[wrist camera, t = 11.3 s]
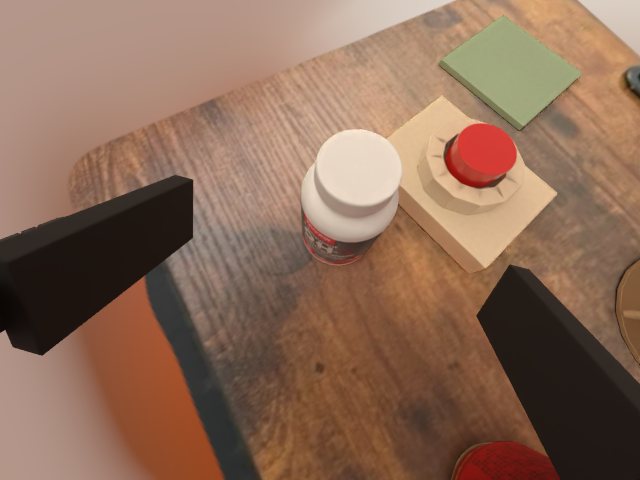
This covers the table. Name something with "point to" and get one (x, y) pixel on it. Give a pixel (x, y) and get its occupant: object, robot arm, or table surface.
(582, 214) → the table surface
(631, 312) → the alarm clock
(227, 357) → the table surface
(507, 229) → the control block
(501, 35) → the mat
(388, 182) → the pill bottle
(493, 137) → the button
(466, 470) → the soda can
